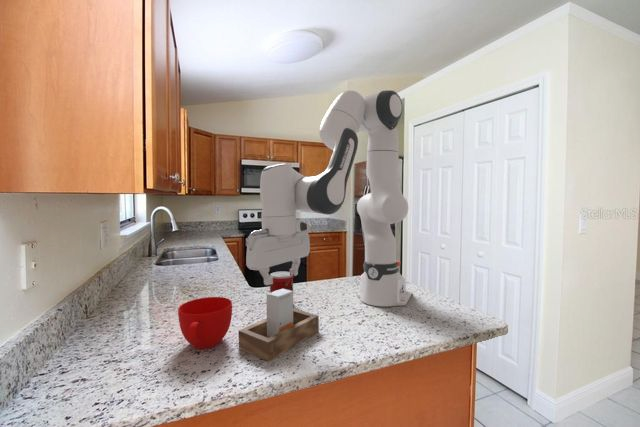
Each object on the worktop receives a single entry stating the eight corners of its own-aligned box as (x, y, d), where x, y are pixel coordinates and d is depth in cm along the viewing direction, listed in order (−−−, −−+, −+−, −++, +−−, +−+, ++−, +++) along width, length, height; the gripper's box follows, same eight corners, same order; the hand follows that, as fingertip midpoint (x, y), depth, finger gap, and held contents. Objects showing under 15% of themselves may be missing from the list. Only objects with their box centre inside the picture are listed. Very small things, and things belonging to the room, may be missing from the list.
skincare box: (278, 343, 75) (277, 296, 75) (266, 339, 78) (265, 293, 77) (294, 334, 80) (293, 290, 80) (282, 330, 83) (282, 288, 82)
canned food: (289, 309, 100) (289, 277, 100) (267, 308, 102) (266, 276, 101) (296, 301, 108) (295, 271, 107) (274, 300, 109) (274, 270, 109)
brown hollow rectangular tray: (290, 322, 89) (290, 307, 89) (318, 331, 83) (318, 315, 83) (238, 348, 74) (238, 330, 74) (268, 361, 68) (268, 342, 68)
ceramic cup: (162, 366, 66) (161, 322, 66) (190, 333, 83) (189, 297, 83) (222, 364, 67) (221, 320, 67) (237, 331, 84) (236, 296, 84)
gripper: (256, 232, 67) (259, 292, 68) (312, 223, 84) (314, 272, 84) (238, 231, 71) (241, 288, 72) (295, 223, 87) (297, 269, 88)
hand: (281, 279), depth 78 cm, fingers open, 8 cm apart
